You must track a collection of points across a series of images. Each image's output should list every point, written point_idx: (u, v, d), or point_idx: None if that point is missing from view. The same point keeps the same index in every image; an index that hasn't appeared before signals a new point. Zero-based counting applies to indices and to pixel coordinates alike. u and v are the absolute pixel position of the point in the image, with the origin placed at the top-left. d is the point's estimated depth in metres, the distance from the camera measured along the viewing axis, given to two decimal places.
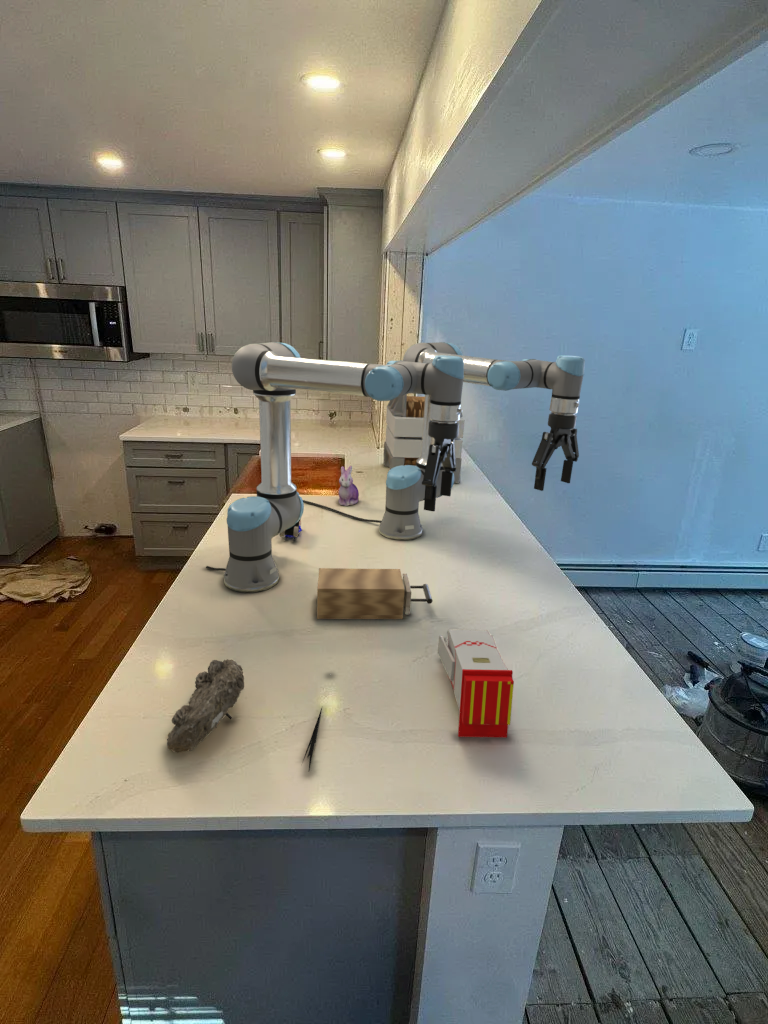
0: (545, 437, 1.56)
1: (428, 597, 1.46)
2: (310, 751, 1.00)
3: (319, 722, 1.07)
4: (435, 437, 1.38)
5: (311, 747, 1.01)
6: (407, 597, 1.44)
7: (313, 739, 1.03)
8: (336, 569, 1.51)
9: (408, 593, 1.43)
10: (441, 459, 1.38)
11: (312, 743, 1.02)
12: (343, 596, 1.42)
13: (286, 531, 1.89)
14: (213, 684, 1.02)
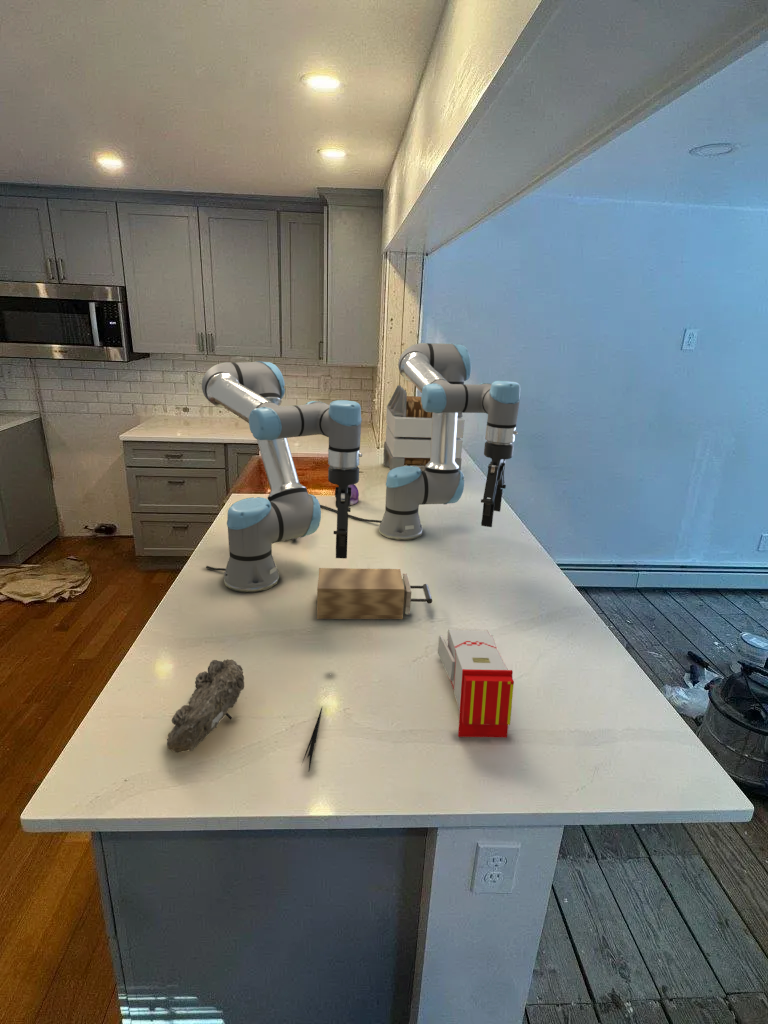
0: (492, 470, 1.44)
1: (428, 597, 1.46)
2: (310, 751, 1.00)
3: (319, 722, 1.07)
4: (339, 484, 1.35)
5: (311, 747, 1.01)
6: (407, 597, 1.44)
7: (313, 739, 1.03)
8: (336, 569, 1.51)
9: (408, 593, 1.43)
10: (347, 505, 1.36)
11: (312, 743, 1.02)
12: (343, 596, 1.42)
13: None
14: (213, 684, 1.02)
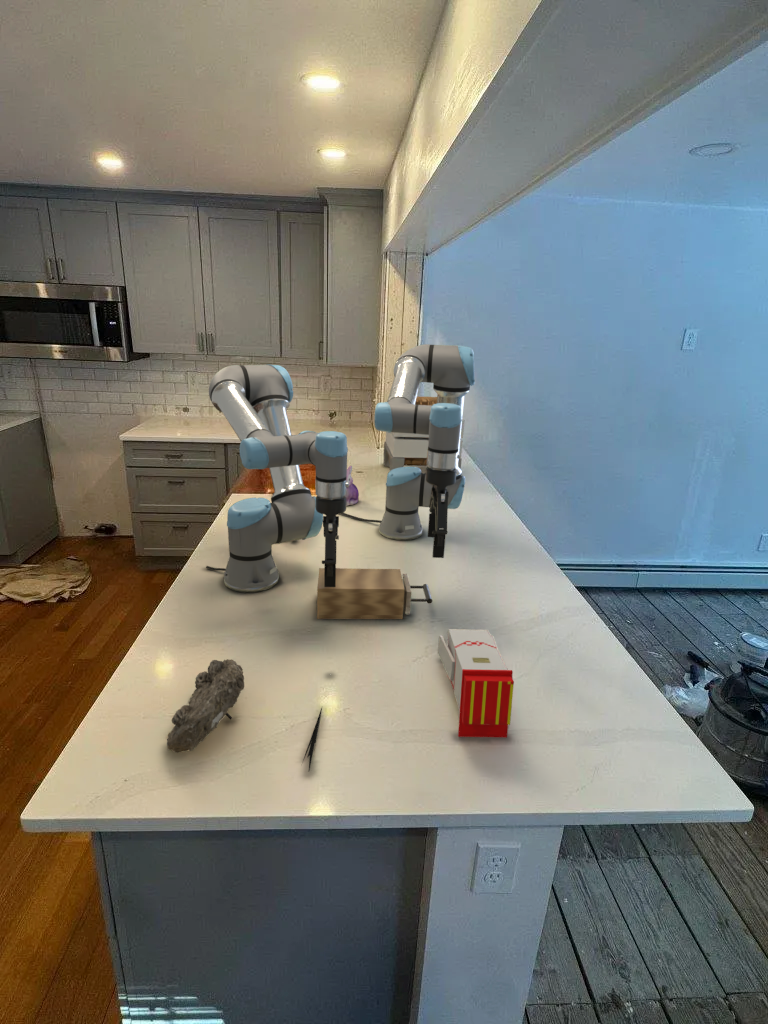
0: (442, 499, 1.36)
1: (428, 597, 1.46)
2: (310, 751, 1.00)
3: (319, 722, 1.07)
4: (327, 514, 1.36)
5: (311, 747, 1.01)
6: (407, 597, 1.44)
7: (313, 739, 1.03)
8: (336, 569, 1.51)
9: (408, 593, 1.43)
10: (335, 534, 1.38)
11: (312, 743, 1.02)
12: (343, 596, 1.42)
13: None
14: (213, 684, 1.02)
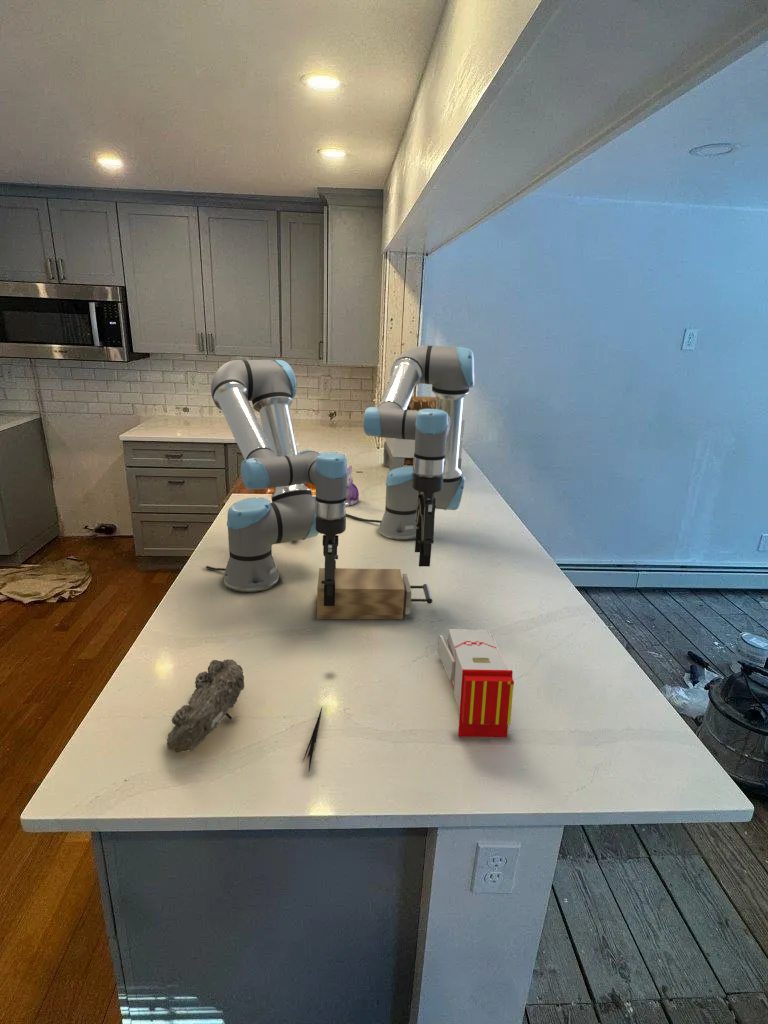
0: (429, 510, 1.35)
1: (428, 597, 1.46)
2: (310, 751, 1.00)
3: (319, 722, 1.07)
4: (327, 534, 1.38)
5: (311, 747, 1.01)
6: (407, 597, 1.44)
7: (313, 739, 1.03)
8: (336, 569, 1.51)
9: (408, 593, 1.43)
10: (335, 554, 1.40)
11: (312, 743, 1.02)
12: (343, 596, 1.42)
13: None
14: (213, 684, 1.02)
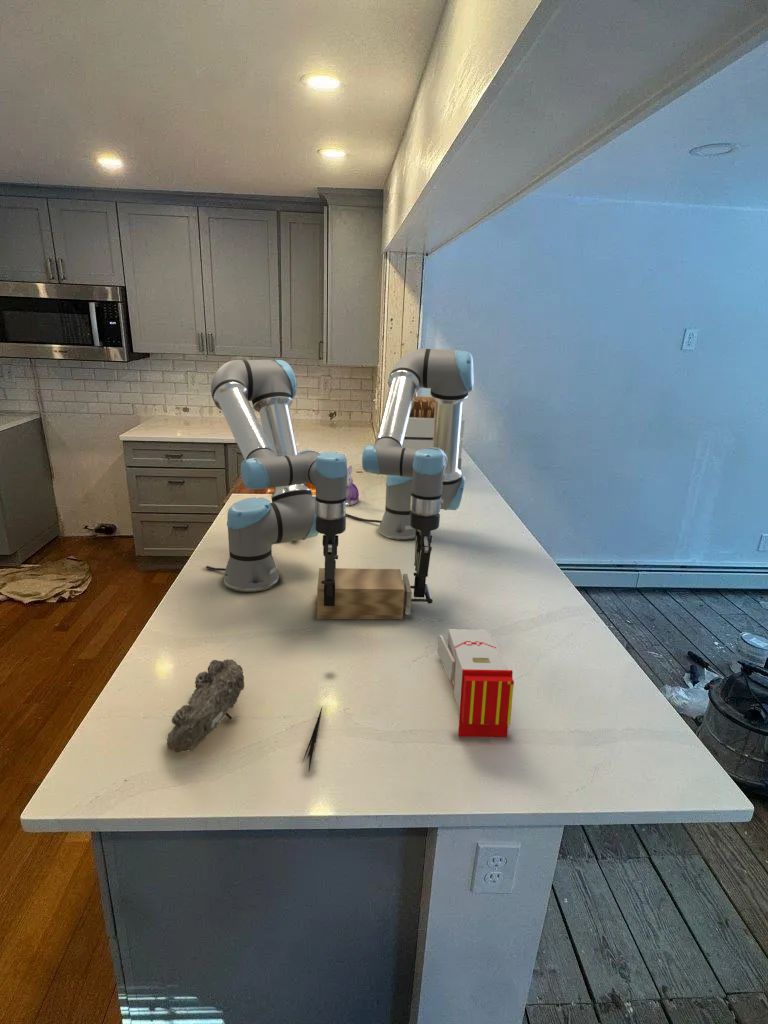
0: (425, 552, 1.39)
1: (428, 597, 1.46)
2: (310, 751, 1.00)
3: (319, 722, 1.07)
4: (327, 534, 1.38)
5: (311, 747, 1.01)
6: (407, 597, 1.44)
7: (313, 739, 1.03)
8: (336, 569, 1.51)
9: (408, 593, 1.44)
10: (335, 554, 1.40)
11: (312, 743, 1.02)
12: (343, 596, 1.42)
13: None
14: (213, 684, 1.02)
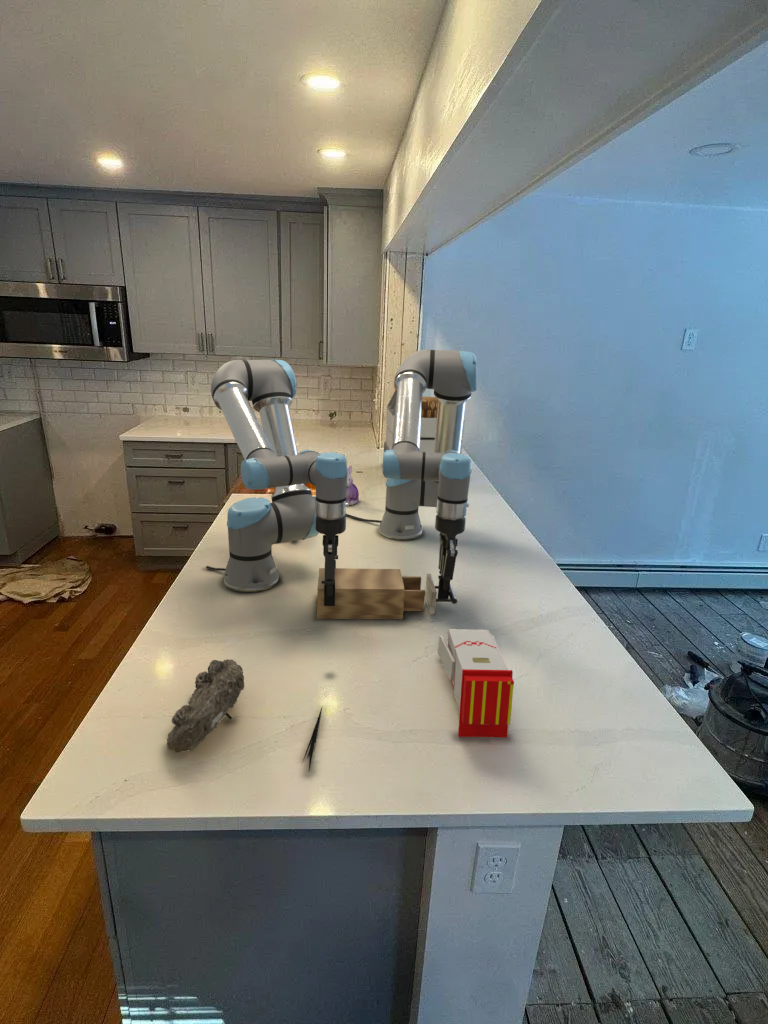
0: (451, 556, 1.40)
1: (453, 597, 1.47)
2: (310, 751, 1.00)
3: (319, 722, 1.07)
4: (327, 534, 1.38)
5: (311, 747, 1.01)
6: (432, 597, 1.44)
7: (313, 739, 1.03)
8: (336, 569, 1.51)
9: (433, 593, 1.44)
10: (335, 554, 1.40)
11: (312, 743, 1.02)
12: (343, 596, 1.42)
13: None
14: (213, 684, 1.02)
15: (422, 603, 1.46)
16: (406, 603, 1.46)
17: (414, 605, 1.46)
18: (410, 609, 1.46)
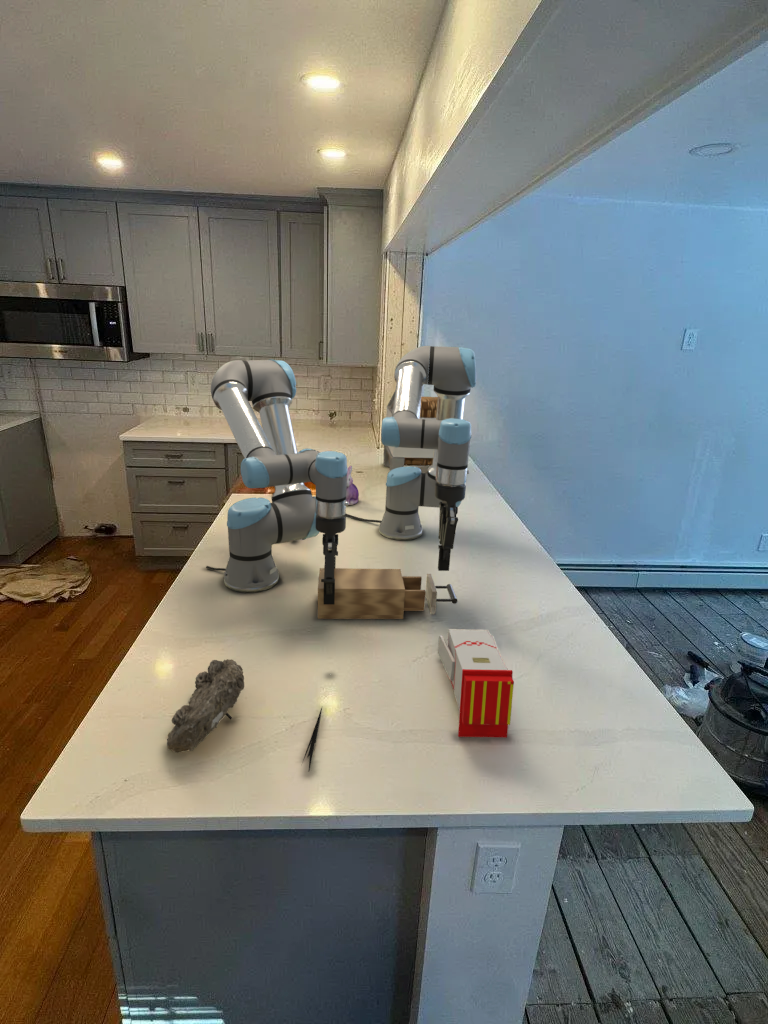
0: (451, 523, 1.37)
1: (453, 597, 1.47)
2: (310, 751, 1.00)
3: (319, 722, 1.07)
4: (327, 533, 1.38)
5: (311, 747, 1.01)
6: (433, 597, 1.44)
7: (313, 739, 1.03)
8: (337, 569, 1.51)
9: (434, 593, 1.44)
10: (335, 553, 1.40)
11: (312, 743, 1.02)
12: (344, 596, 1.42)
13: None
14: (213, 684, 1.02)
15: (422, 603, 1.46)
16: (406, 603, 1.46)
17: (414, 605, 1.46)
18: (410, 609, 1.46)
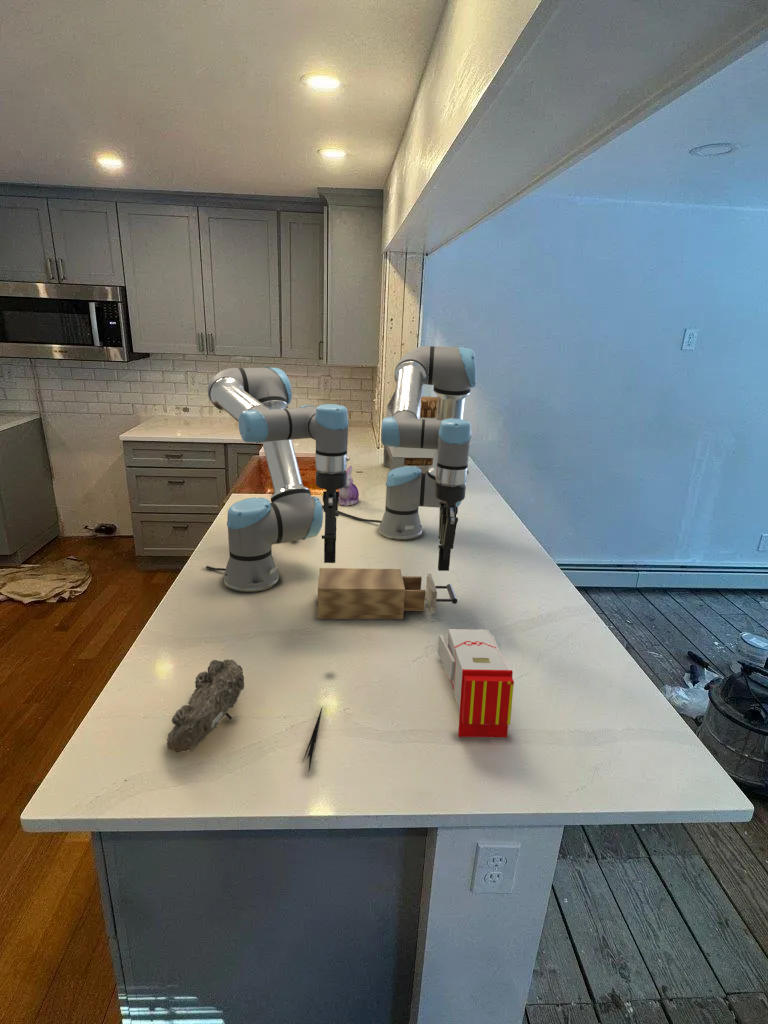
0: (451, 523, 1.37)
1: (453, 597, 1.47)
2: (310, 751, 1.00)
3: (319, 722, 1.07)
4: (327, 488, 1.34)
5: (311, 747, 1.01)
6: (433, 597, 1.44)
7: (313, 739, 1.03)
8: (337, 569, 1.51)
9: (434, 593, 1.44)
10: (335, 509, 1.36)
11: (312, 743, 1.02)
12: (344, 596, 1.42)
13: None
14: (213, 684, 1.02)
15: (422, 603, 1.46)
16: (406, 603, 1.46)
17: (414, 605, 1.46)
18: (410, 609, 1.46)
